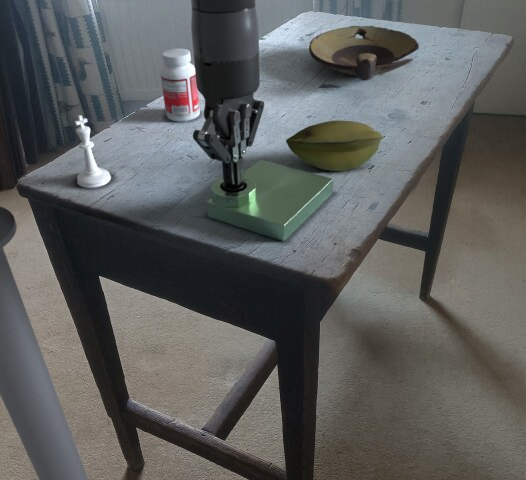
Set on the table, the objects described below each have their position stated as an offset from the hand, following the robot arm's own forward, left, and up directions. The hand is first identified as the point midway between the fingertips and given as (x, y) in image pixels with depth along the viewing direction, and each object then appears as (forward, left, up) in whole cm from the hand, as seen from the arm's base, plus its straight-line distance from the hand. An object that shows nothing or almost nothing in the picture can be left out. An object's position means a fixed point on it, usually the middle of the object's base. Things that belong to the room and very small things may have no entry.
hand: (233, 183), depth 78 cm
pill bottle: (+23, +27, -4) cm, 35 cm away
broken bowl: (+59, +9, -4) cm, 60 cm away
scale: (+4, -3, -4) cm, 7 cm away
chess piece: (-3, +24, -4) cm, 24 cm away
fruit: (+20, -5, -4) cm, 21 cm away
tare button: (0, 0, -2) cm, 2 cm away
